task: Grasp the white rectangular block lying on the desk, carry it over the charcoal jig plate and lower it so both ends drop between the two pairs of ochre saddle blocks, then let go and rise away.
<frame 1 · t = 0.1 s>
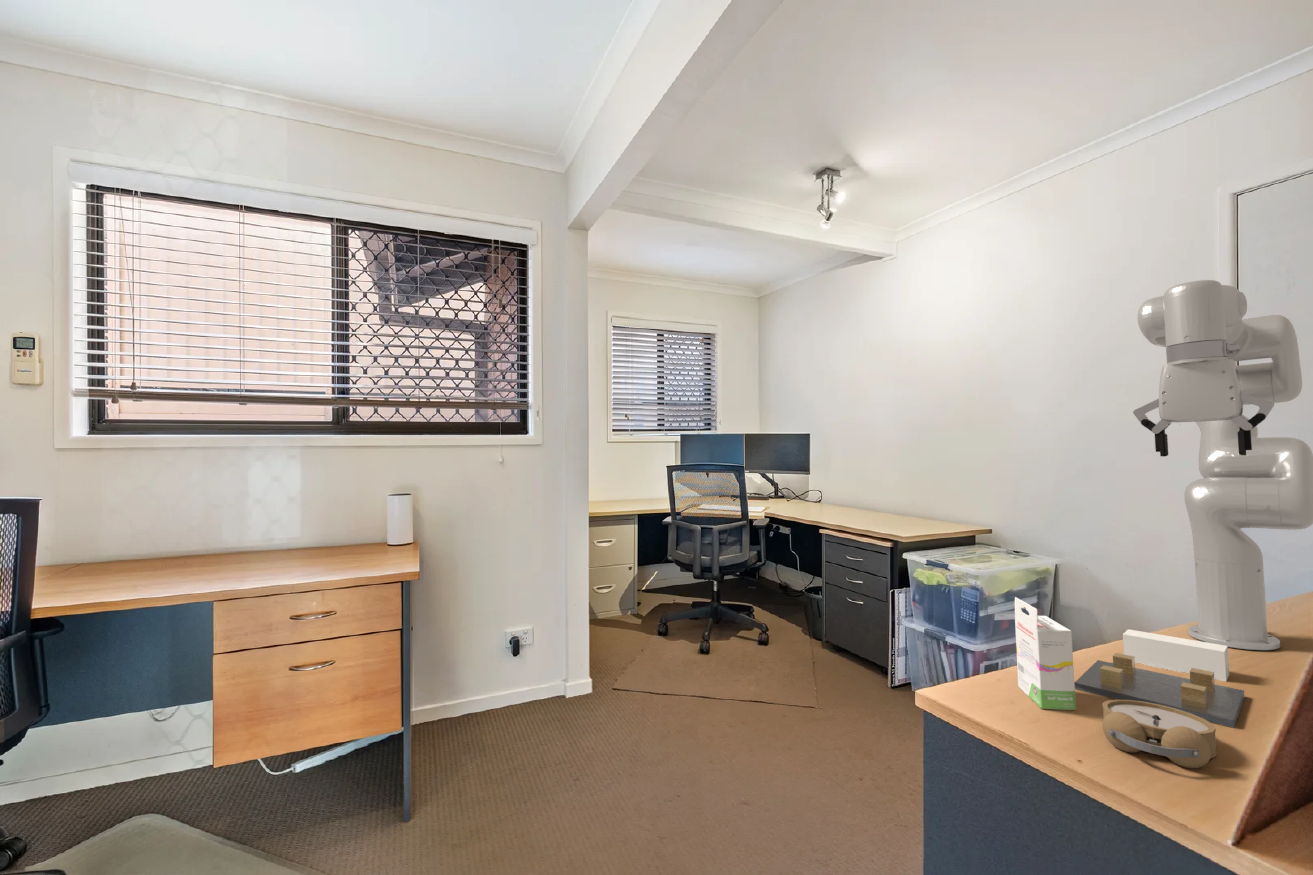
hand: (1202, 455, 96), 37 cm above the table, tool pointing down, fingers open, 9 cm apart
cradle jig: (1157, 692, 89), on the table
white rectangular block: (1174, 668, 98), on the table
alarm clock: (1156, 748, 74), on the table
ink box: (1046, 699, 88), on the table
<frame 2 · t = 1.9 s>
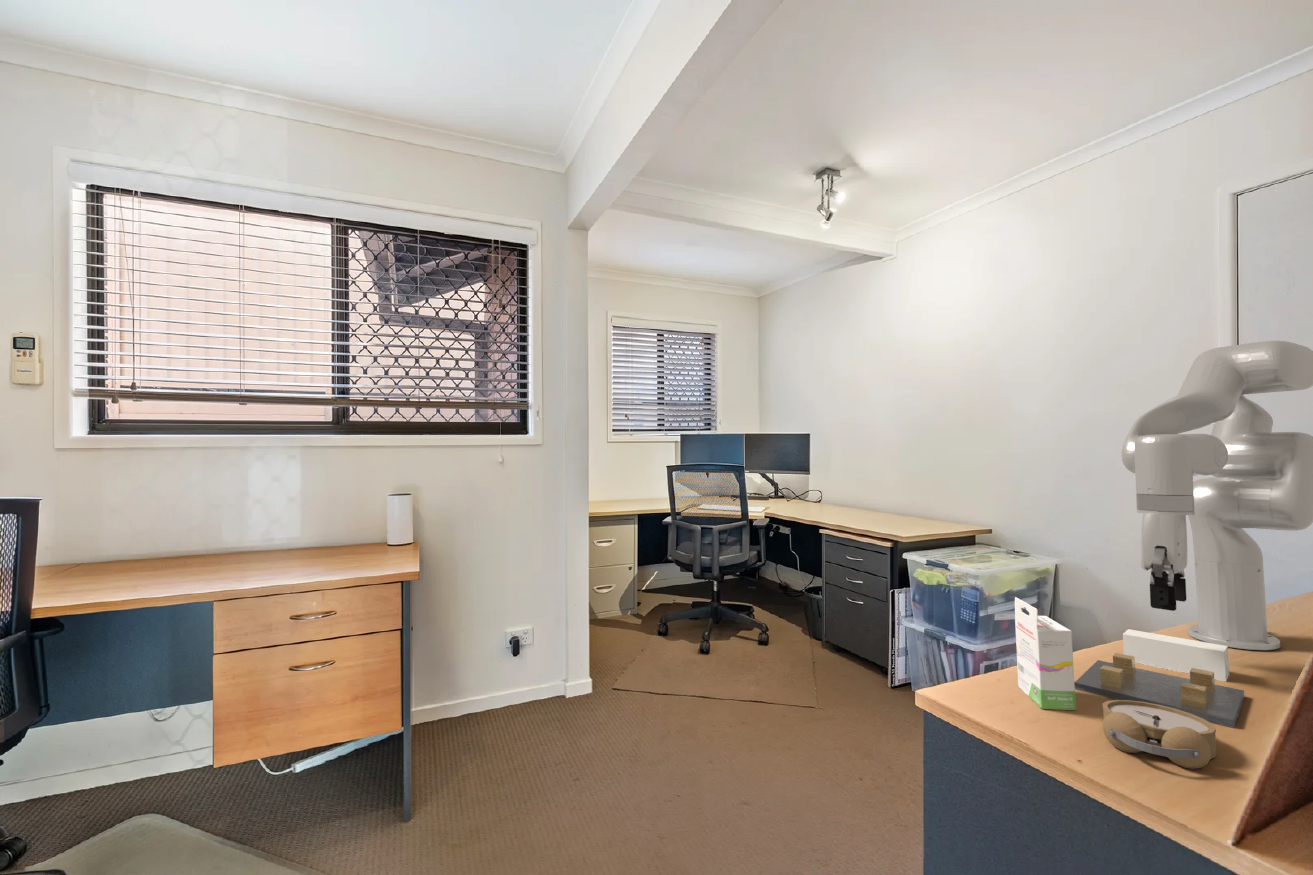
hand: (1168, 604, 98), 11 cm above the table, tool pointing down, fingers open, 9 cm apart
nothing on the table moved.
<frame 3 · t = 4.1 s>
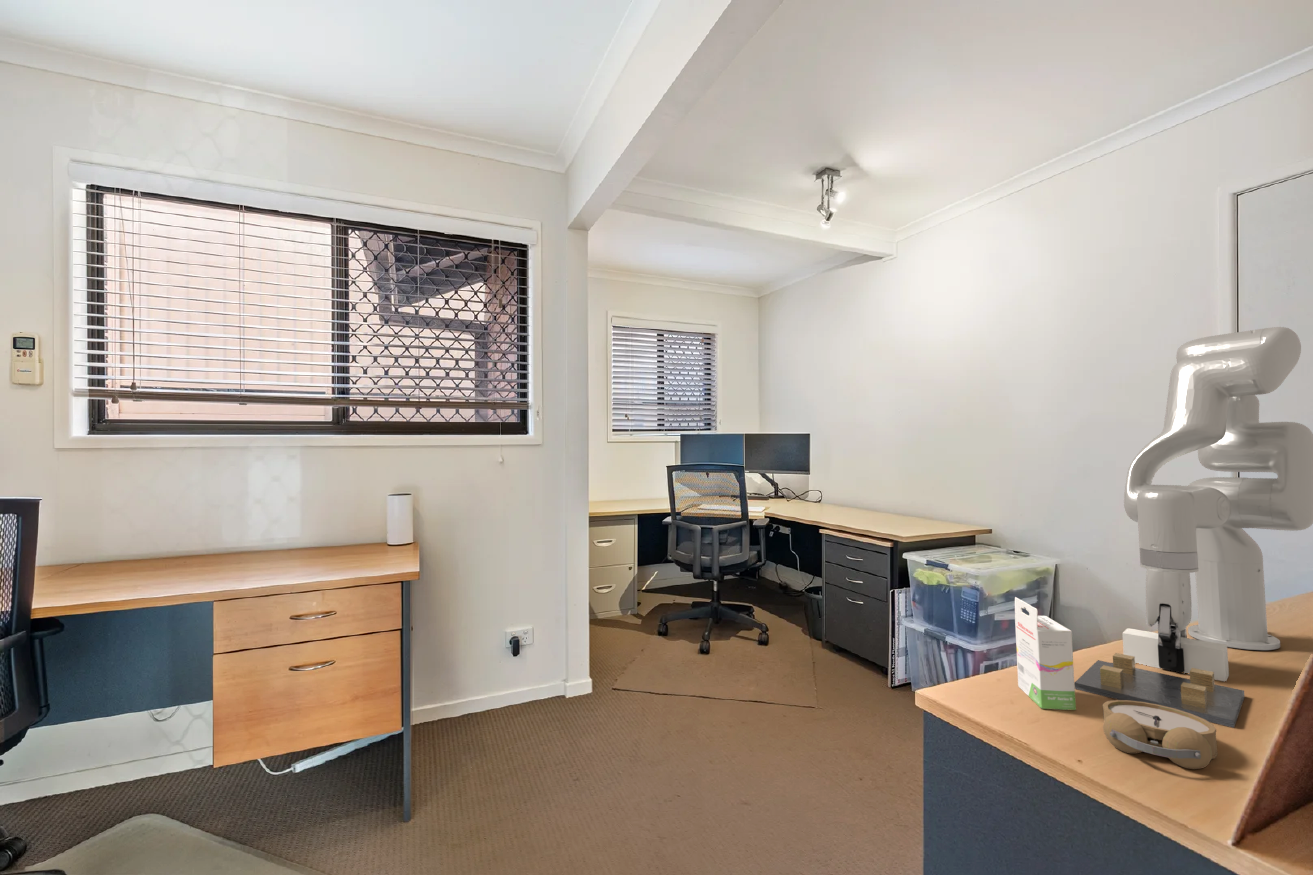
hand: (1174, 665, 98), 0 cm above the table, tool pointing down, fingers closed on white rectangular block, 4 cm apart
white rectangular block: (1174, 667, 98), on the table, touching gripper
everything else where it was.
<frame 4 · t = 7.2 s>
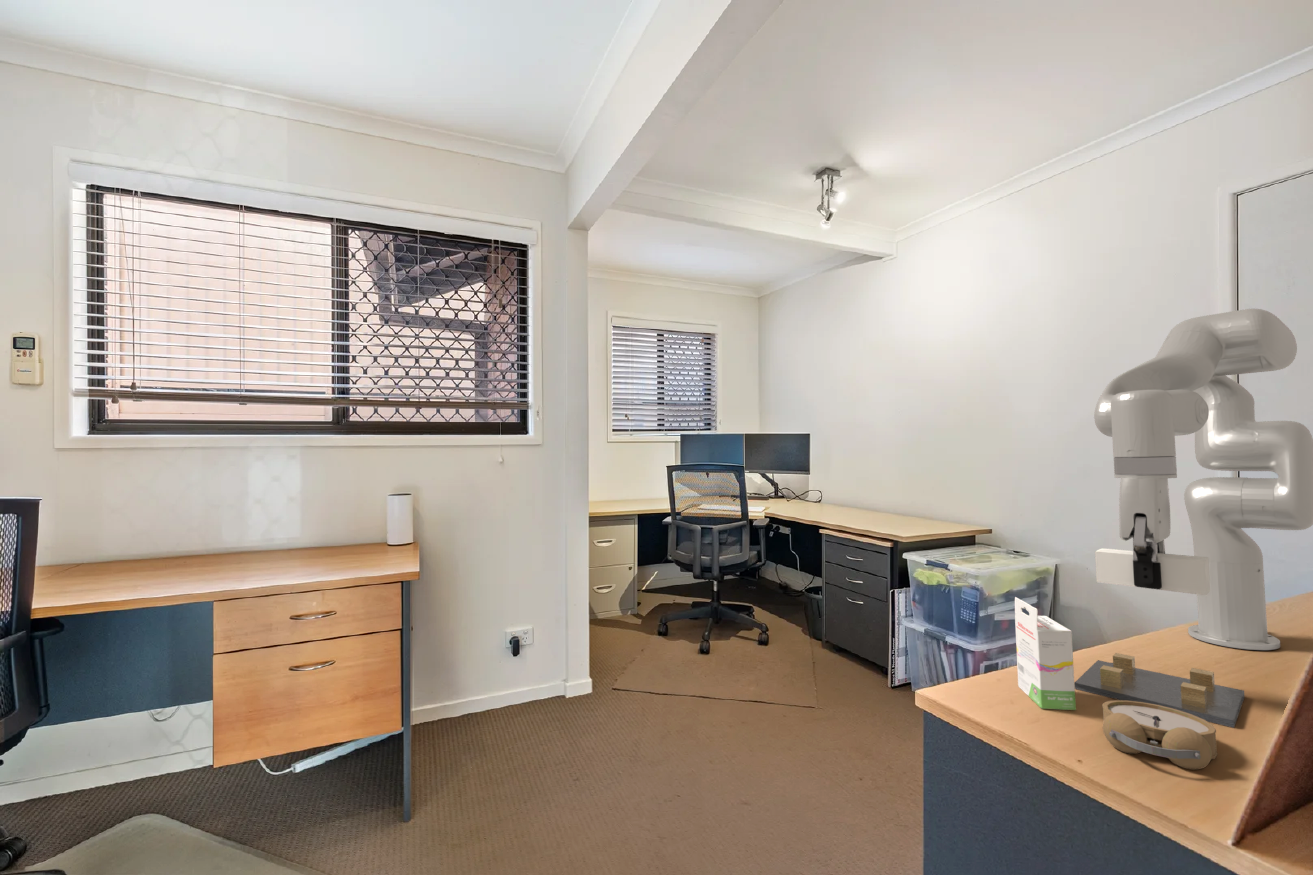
hand: (1151, 583, 89), 17 cm above the table, tool pointing down, fingers closed on white rectangular block, 4 cm apart
white rectangular block: (1151, 586, 89), point 17 cm above the table, touching gripper
everything else where it was.
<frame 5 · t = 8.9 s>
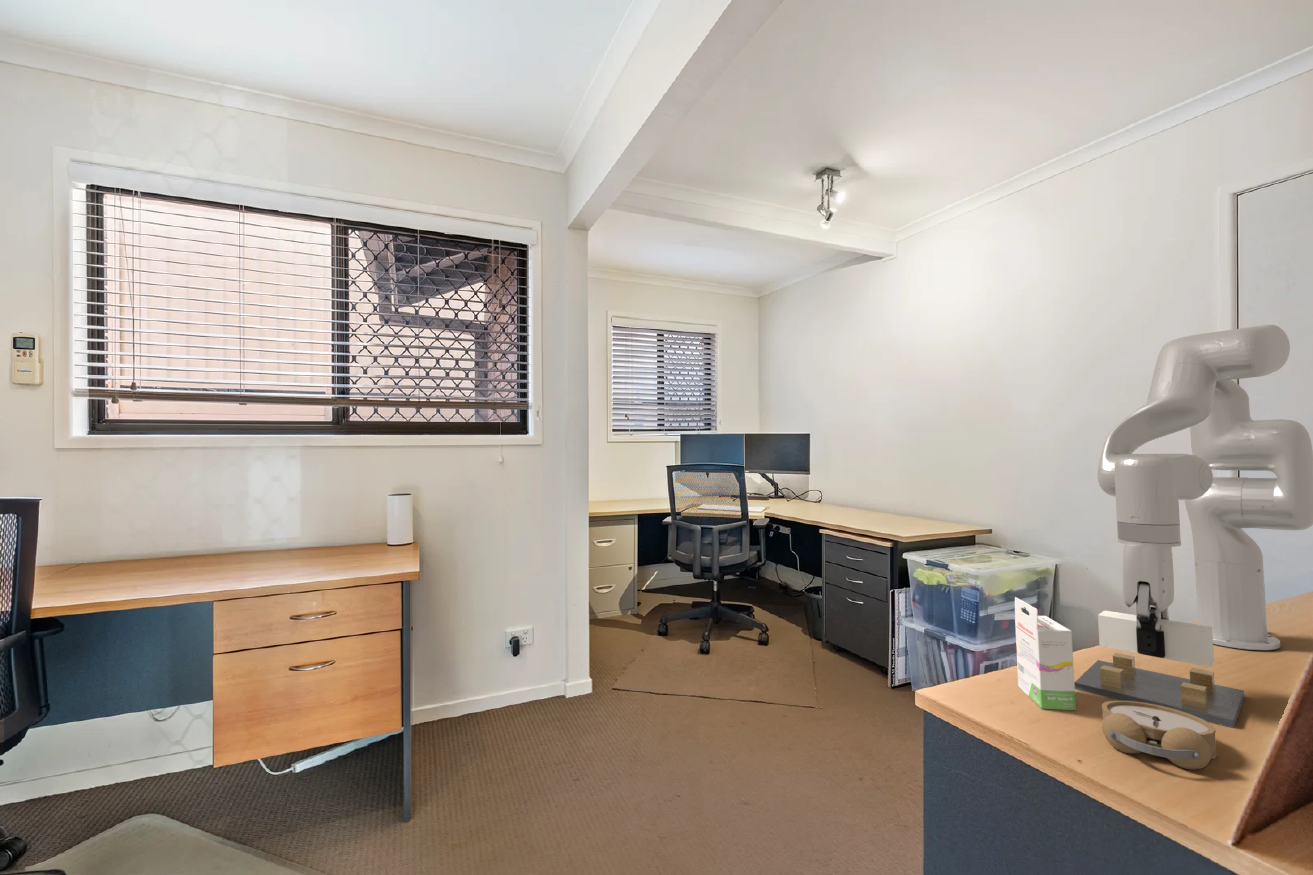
hand: (1154, 650, 89), 7 cm above the table, tool pointing down, fingers closed on white rectangular block, 4 cm apart
white rectangular block: (1154, 652, 89), point 6 cm above the table, touching gripper
everything else where it was.
when the fingers open (2 cm above the table, at t = 10.5 s): white rectangular block stays where it is, resting on cradle jig.
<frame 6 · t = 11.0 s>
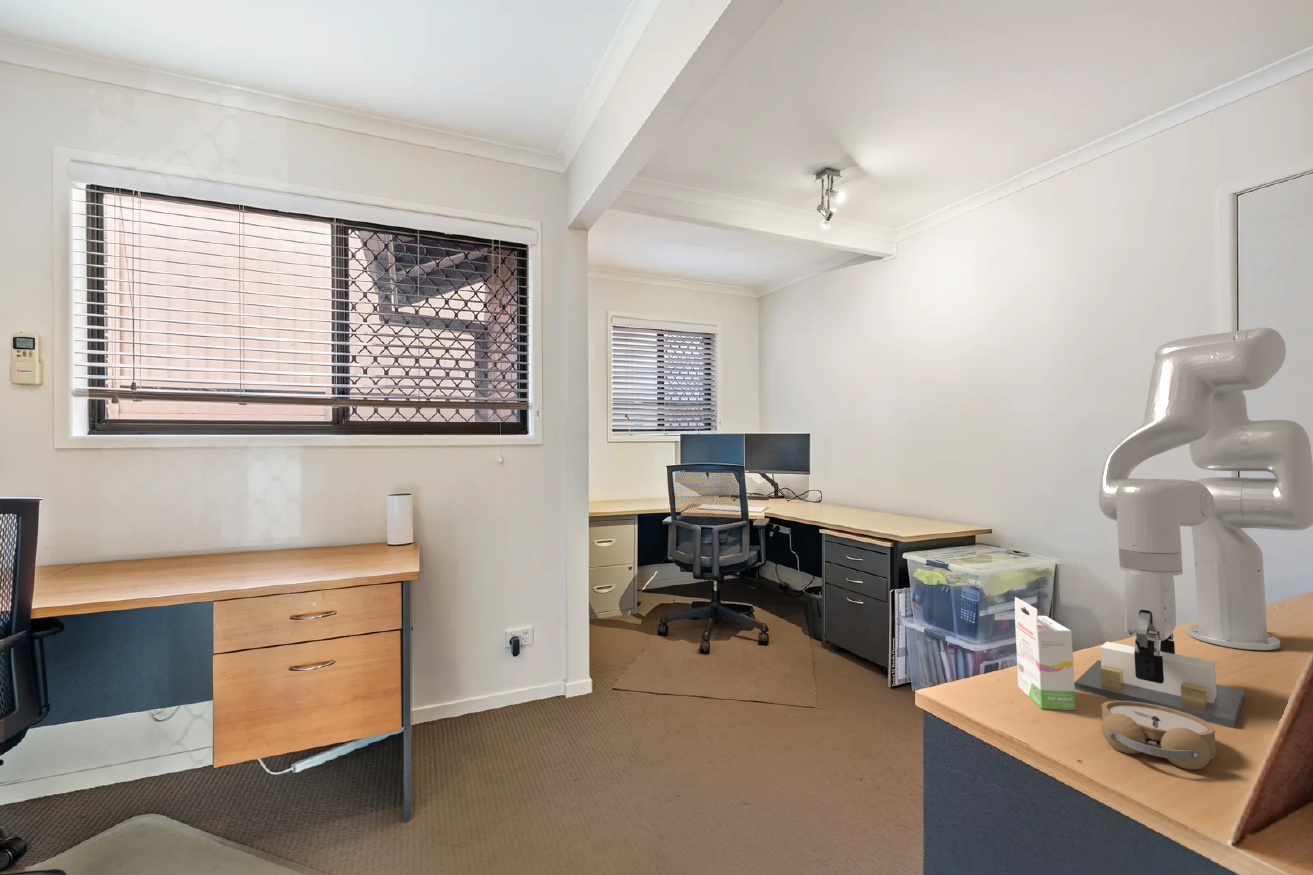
hand: (1156, 671, 89), 3 cm above the table, tool pointing down, fingers open, 9 cm apart
white rectangular block: (1157, 686, 89), point 1 cm above the table, touching cradle jig
everything else where it was.
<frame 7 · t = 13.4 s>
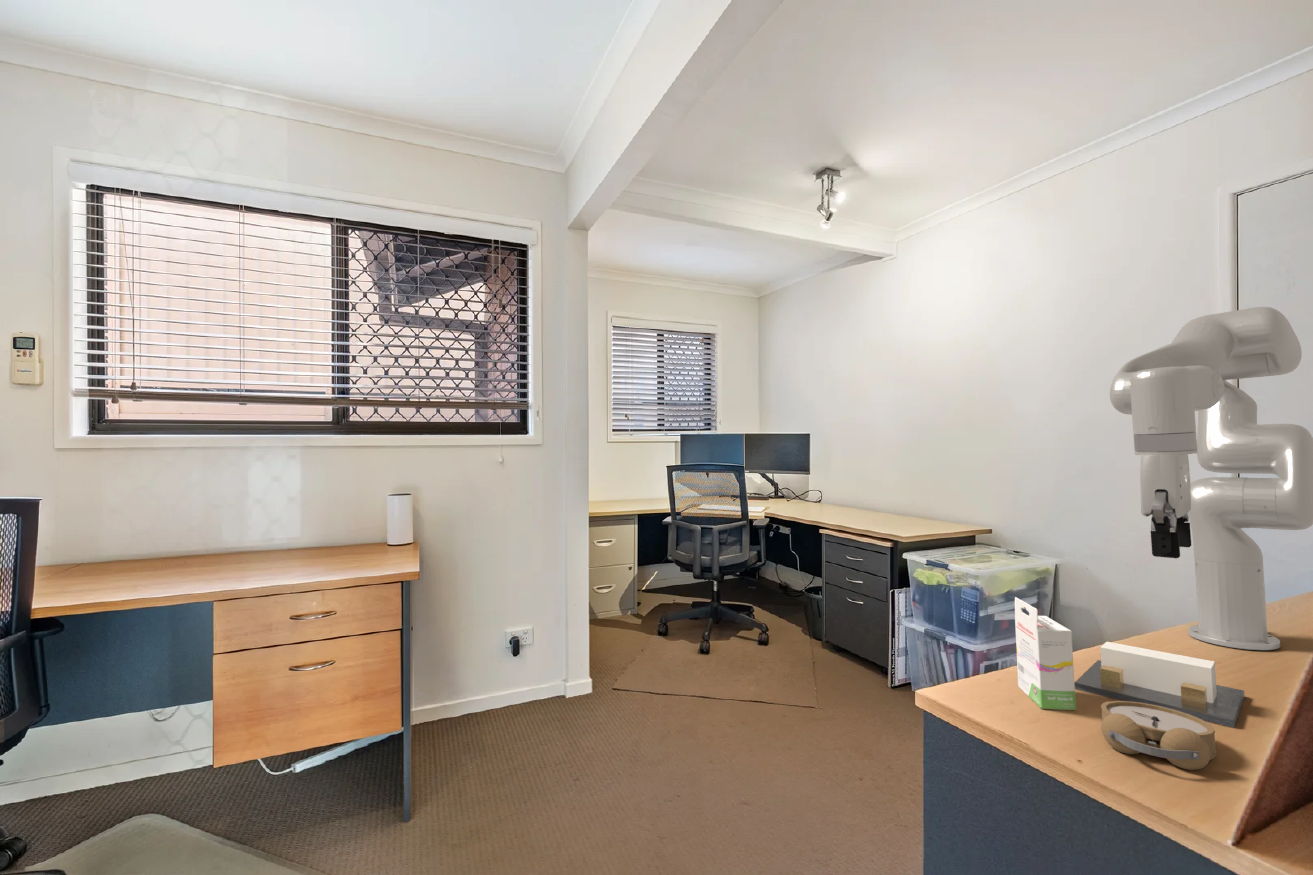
hand: (1172, 551, 91), 22 cm above the table, tool pointing down, fingers open, 9 cm apart
nothing on the table moved.
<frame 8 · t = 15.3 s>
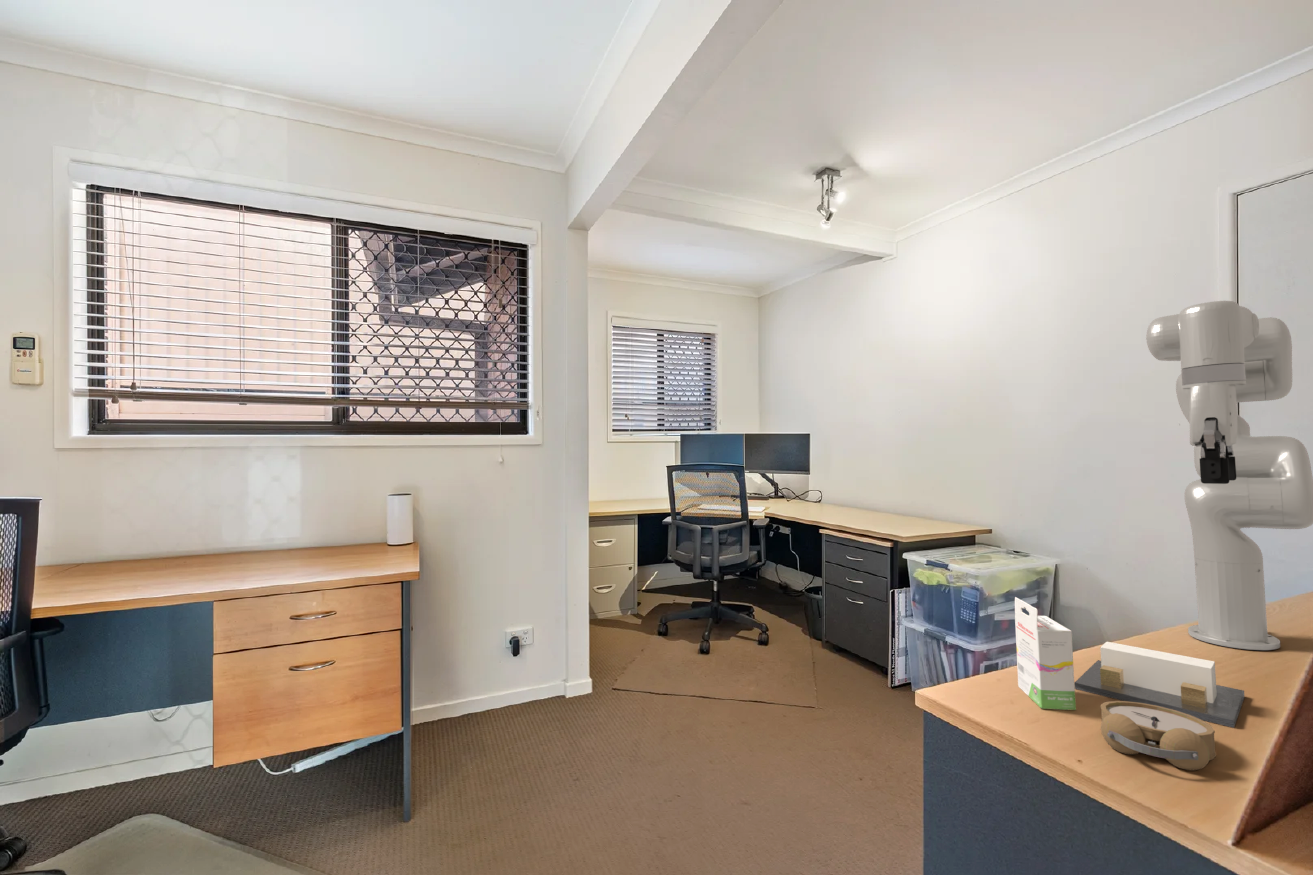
hand: (1219, 481, 93), 32 cm above the table, tool pointing down, fingers open, 9 cm apart
nothing on the table moved.
at the end: white rectangular block 0.0 cm off-centre on the cradle jig, point 1.0 cm above the cradle jig's base; white rectangular block tilted 0°; the gripper is holding nothing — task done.
